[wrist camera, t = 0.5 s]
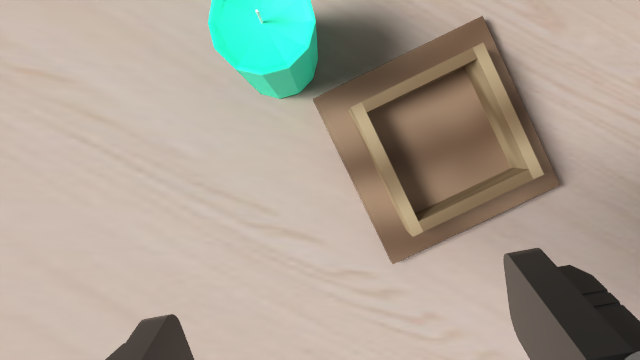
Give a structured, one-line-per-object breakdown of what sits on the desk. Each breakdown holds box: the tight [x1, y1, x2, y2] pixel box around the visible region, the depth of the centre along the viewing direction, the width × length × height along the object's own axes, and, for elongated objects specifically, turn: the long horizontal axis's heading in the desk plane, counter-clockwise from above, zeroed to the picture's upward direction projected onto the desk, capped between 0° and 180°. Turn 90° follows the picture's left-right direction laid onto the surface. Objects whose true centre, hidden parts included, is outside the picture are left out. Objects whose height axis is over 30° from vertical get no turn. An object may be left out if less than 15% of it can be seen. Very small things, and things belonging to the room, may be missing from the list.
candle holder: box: [313, 16, 560, 264], centre depth 34 cm, size 14×14×4 cm
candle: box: [208, 0, 318, 99], centre depth 29 cm, size 6×6×12 cm
